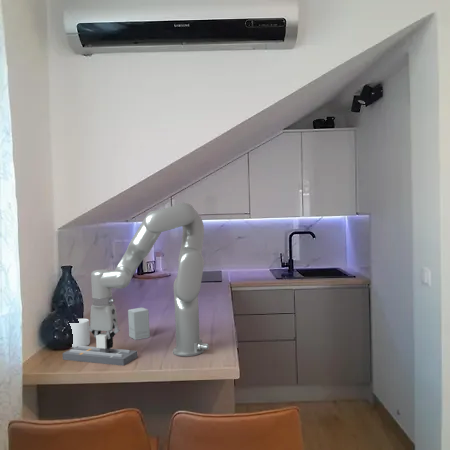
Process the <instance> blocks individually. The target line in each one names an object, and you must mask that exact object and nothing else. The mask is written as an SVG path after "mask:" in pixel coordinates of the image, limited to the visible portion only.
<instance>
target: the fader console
mask: <svg viewBox="0 0 450 450" xmlns="http://www.w3.org/2000/svg"><path fill="white" fill-rule="evenodd" d="M137 358H138V350H131V349H122V348H113V347H112V348H110V351H109V352H107V353H103V352H100V348H97V346H89V345H88V346H77V347H75V348H70V349H69V350H66V351H64V352H62V360H65V361H73V362H74V361H75V362H83V363H92V364H93V363H95V364H103V365H112V366H113V365H114V366H125V365H127V364H129V363H131V362H132V361H134V360H135V359H137Z"/></svg>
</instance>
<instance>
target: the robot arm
mask: <svg viewBox="0 0 450 450" xmlns="http://www.w3.org/2000/svg"><path fill="white" fill-rule="evenodd" d="M204 226H205V225H204V223H203V219H202V217H201V216H200V213H199V212H198V211H197V210H196V209H195V207H194V206H193V205H191V204H190V203H188V202H179V203H178V204H175V205H172V206H168V207H165V208H161V209H158V210H152V211H149V212H148V213H147V214H146V216H145V217H144V218H143V220H142V222H141V223H140V225H139V227H138V229H137V230H136V232H135V233H134V235H133V237H132V238H131V240H130V242H129V244H128V245H127V249H126V251H125V252H124V254H123V256H121V259H120V261H119V262H118V264H117V265H116V267H115V268H114V270H109V269H106V268H105V269H96V270H95V269H94V270H93V271H91V274H90V279H91V280H90V281H91V282H90V283H91V299H92V300H91V301H92V304H91V306H90V316H89V317H90V318H89V328H88V330H89V332H90V333H92V335H93V336H94V337H93V338H95V339H96V335H99V334H101V333H102V332H106V333H107V338H108V339H107V340H106V341H107V349H110V348H112V349H113V346H114V340H113V339H114V338H115V335H117V333H119V332H120V331H121V329H120V326H118V325H119V324H118V323H119V322H118V313H117V308H116V304H114V303H115V299H114V298H113V291H112V290H113V289H116V290H117V289H125V288H127V287H128V286H129V285H130V284H131V279H132V278H133V276H134V274H135V272H136V271H137V270H138V268H139V267H140V265H141V263H142V261H143V260H144V259H145V258H146V257H147V256H148V255H149V253H150V252H151V250H152V248H153V247H154V246H155V244H156V242H157V240H158V239H159V237H160V235H161V234H162V233H163V232H169V231H171V230H174V229H178V228H182V236H181V245H180V251H179V255H178V261H177V262H178V268H177V273H176V274H177V275H176V277H175V279H174V282H173V285H172V286H173V296H174V297H173V299H174V317H175V318H174V320H175V340H176V341H175V345H176V346H175V347H174V348H173V349H172V354H173V355H174V356H178V357H194V356H198V355H200V354H203V353H204V352H205V351H207V350H208V351H209V349H210V345H209V343H205V342H203V339H200V337H201V336H200V334H201V333H200V332H201V331H200V317H199V315H200V311H199V309H200V308H199V294H200V291H201V286H202V279H203V274H204V267H205V266H204V265H205V260H204V256H203V255H202V252H203V245H204V235H205V227H204Z"/></svg>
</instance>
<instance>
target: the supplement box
mask: <svg viewBox="0 0 450 450" xmlns="http://www.w3.org/2000/svg"><path fill="white" fill-rule="evenodd" d="M149 316H150V312H149V309H148V308H146V307H145V308H144V307H137V308H131V309H128V310H127V317H128V318H127V320H128V335H129V336H128V337H129V338H131V339H133V340H134V341H137V340H142V339H147V338H150V337H151V332H150V317H149Z"/></svg>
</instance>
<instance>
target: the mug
mask: <svg viewBox="0 0 450 450" xmlns="http://www.w3.org/2000/svg"><path fill="white" fill-rule="evenodd" d="M77 319H78V321H79V323H69V324H70V326H71V329H72V334H73V344H72V347H71V349H73V348H75V347H77V346H89V345H90V344H91V337H90V336H91V335H90V333H91V331H89V330H88V328H89V326H90V319H88V318H77Z"/></svg>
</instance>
